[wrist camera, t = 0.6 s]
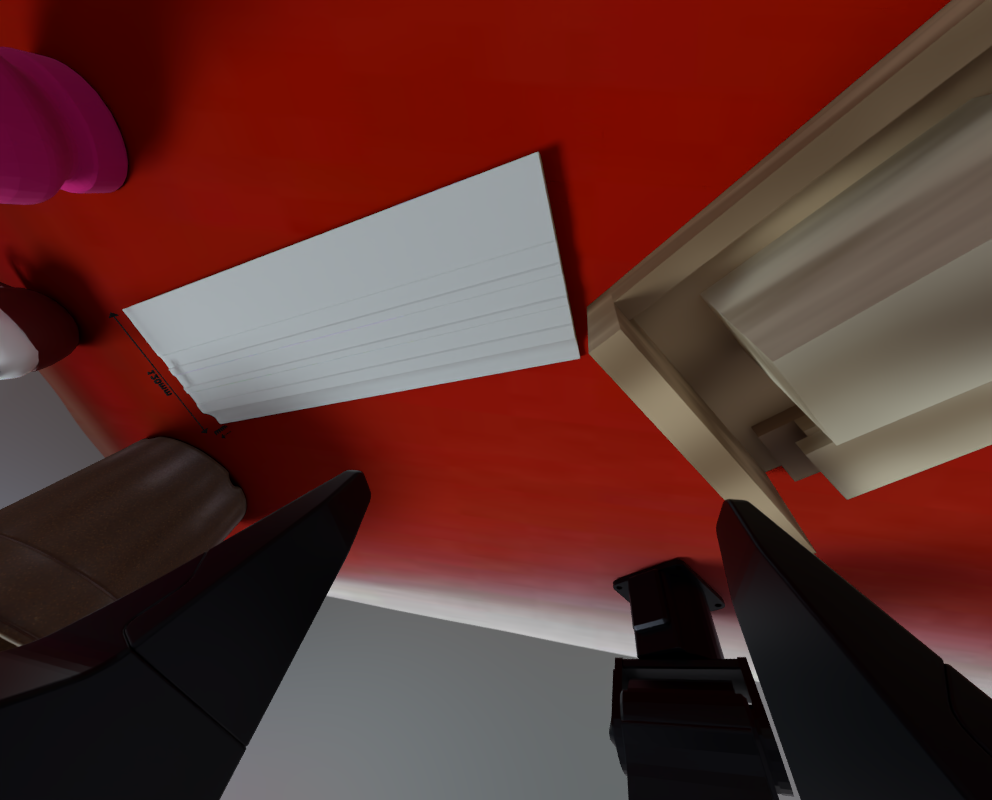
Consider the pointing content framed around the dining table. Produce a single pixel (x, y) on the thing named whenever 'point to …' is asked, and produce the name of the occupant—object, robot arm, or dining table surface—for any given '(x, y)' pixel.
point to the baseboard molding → (375, 304)
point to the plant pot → (109, 534)
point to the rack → (751, 227)
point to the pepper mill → (54, 132)
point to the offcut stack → (881, 443)
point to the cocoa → (32, 332)
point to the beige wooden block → (879, 286)
